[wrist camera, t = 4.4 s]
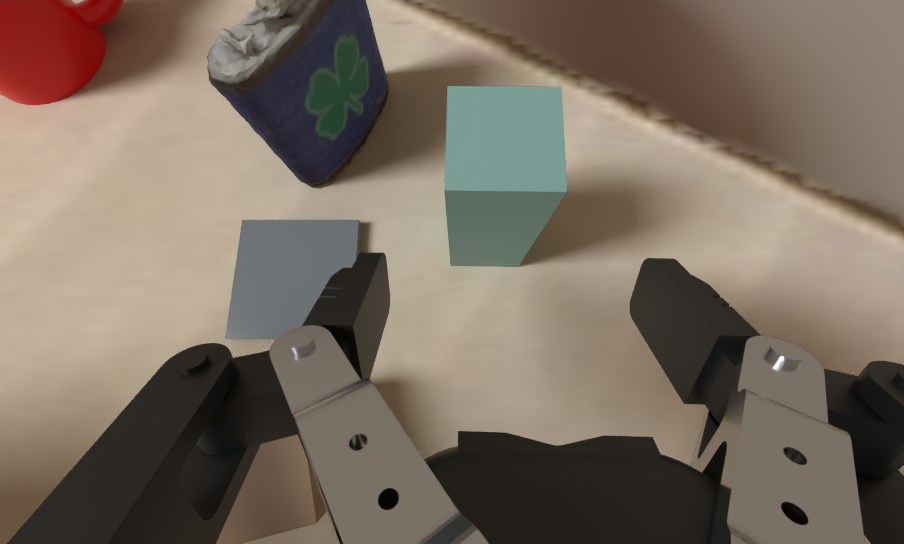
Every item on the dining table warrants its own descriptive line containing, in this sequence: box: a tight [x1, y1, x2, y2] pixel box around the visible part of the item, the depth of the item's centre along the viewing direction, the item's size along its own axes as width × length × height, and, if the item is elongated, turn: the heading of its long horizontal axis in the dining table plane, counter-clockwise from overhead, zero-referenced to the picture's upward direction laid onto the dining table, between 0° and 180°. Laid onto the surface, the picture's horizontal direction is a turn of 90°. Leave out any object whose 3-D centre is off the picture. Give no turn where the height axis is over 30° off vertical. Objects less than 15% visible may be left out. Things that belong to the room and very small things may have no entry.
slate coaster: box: [225, 220, 361, 339], centre depth 22 cm, size 7×7×1 cm
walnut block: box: [216, 434, 327, 544], centre depth 17 cm, size 5×5×5 cm
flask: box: [207, 0, 388, 188], centre depth 19 cm, size 9×3×11 cm, turn 151°
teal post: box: [445, 86, 567, 267], centre depth 17 cm, size 4×4×10 cm
